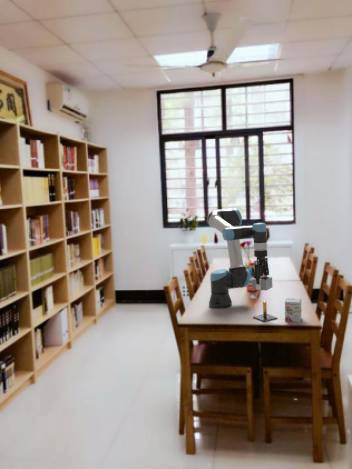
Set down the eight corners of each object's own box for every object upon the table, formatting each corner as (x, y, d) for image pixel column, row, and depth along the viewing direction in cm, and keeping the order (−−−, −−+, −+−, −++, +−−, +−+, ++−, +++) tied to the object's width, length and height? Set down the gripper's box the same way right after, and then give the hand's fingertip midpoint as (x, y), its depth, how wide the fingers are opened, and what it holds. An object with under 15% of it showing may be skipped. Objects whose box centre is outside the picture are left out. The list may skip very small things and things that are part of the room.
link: (251, 289, 255) (251, 279, 254) (258, 286, 262) (257, 276, 262) (266, 290, 250) (265, 280, 249) (272, 287, 257) (272, 277, 256)
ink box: (284, 321, 249) (284, 301, 248) (286, 317, 257) (286, 297, 256) (300, 322, 246) (300, 301, 245) (301, 317, 254) (301, 298, 253)
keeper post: (253, 317, 259) (252, 301, 258) (266, 314, 264) (266, 298, 263) (263, 321, 250) (262, 305, 249) (277, 318, 255) (276, 302, 254)
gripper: (258, 252, 243) (260, 292, 245) (273, 247, 261) (275, 284, 263) (246, 252, 247) (248, 291, 249) (262, 247, 265) (263, 283, 267)
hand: (262, 287), depth 256 cm, fingers closed on link, 9 cm apart
